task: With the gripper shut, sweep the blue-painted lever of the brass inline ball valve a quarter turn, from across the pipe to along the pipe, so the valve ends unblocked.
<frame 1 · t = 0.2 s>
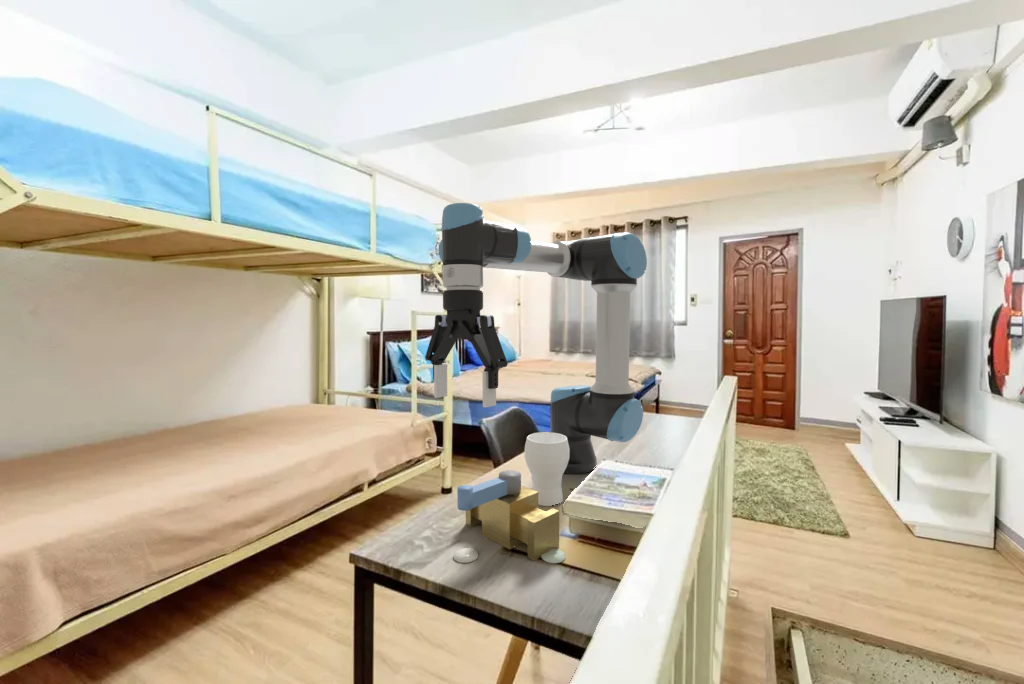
hand: (463, 401, 85), 28 cm above the table, fingers open, 13 cm apart
valve body: (510, 534, 90), on the table
lever: (490, 488, 85), point 11 cm above the table, hinge at 0.0°
cup: (546, 500, 107), on the table
pale green round dome: (553, 556, 82), on the table
white domed disc: (465, 556, 82), on the table
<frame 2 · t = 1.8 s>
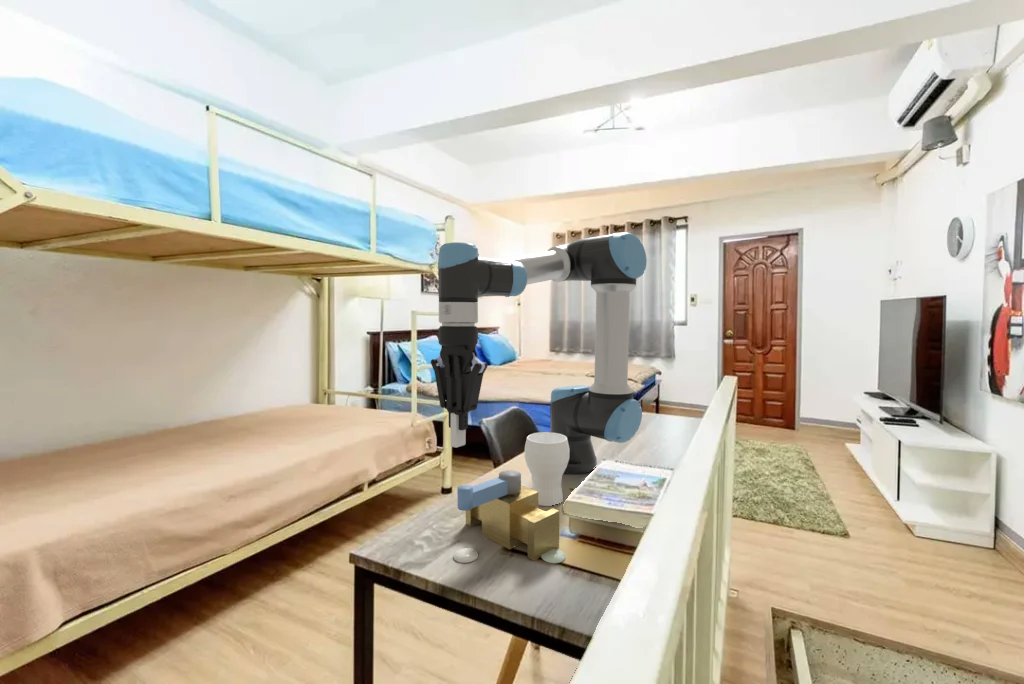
hand: (458, 445, 88), 19 cm above the table, fingers closed
nothing on the table moved.
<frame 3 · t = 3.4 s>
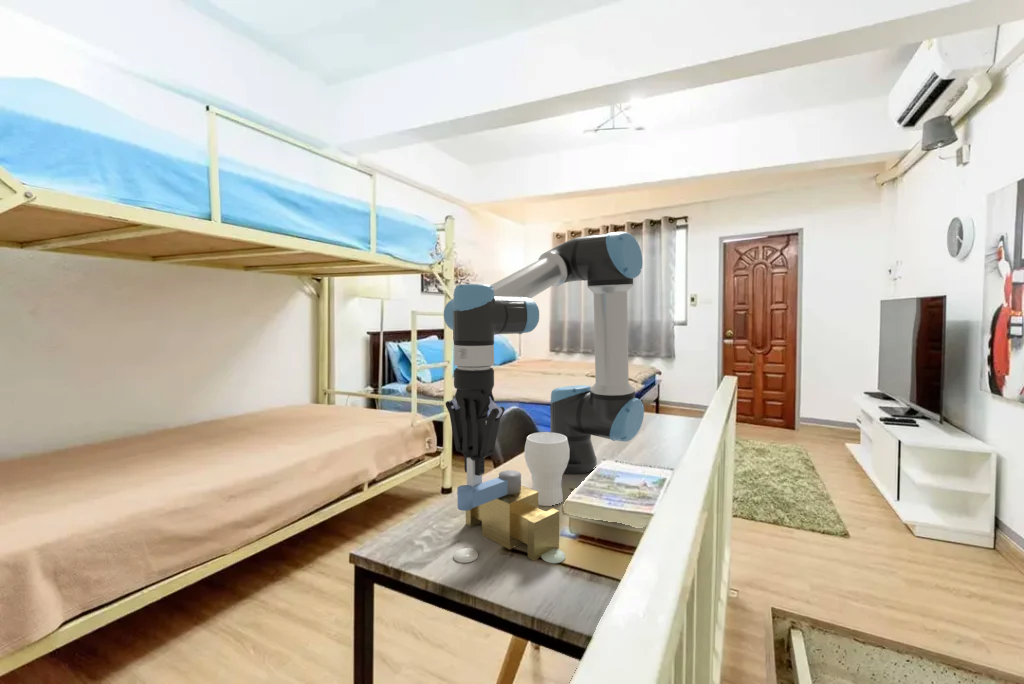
hand: (474, 490, 85), 11 cm above the table, fingers closed
lever: (490, 488, 85), point 11 cm above the table, hinge at 0.0°, touching gripper
everything else where it was.
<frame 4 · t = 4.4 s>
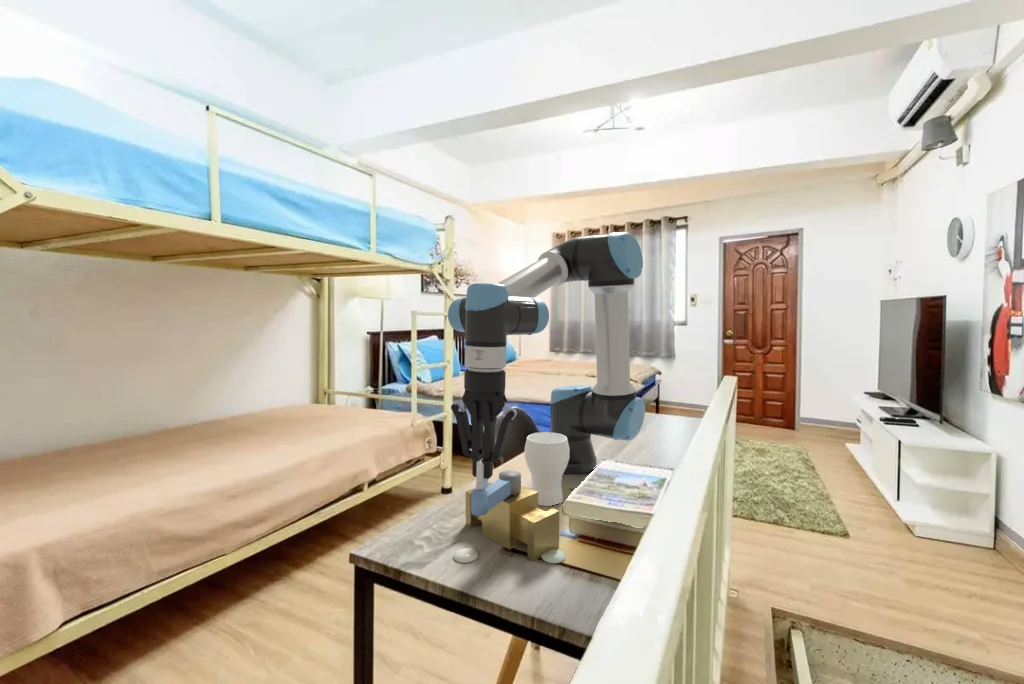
hand: (482, 494, 83), 11 cm above the table, fingers closed
lever: (496, 490, 84), point 11 cm above the table, hinge at 17.0°, touching gripper
everything else where it was.
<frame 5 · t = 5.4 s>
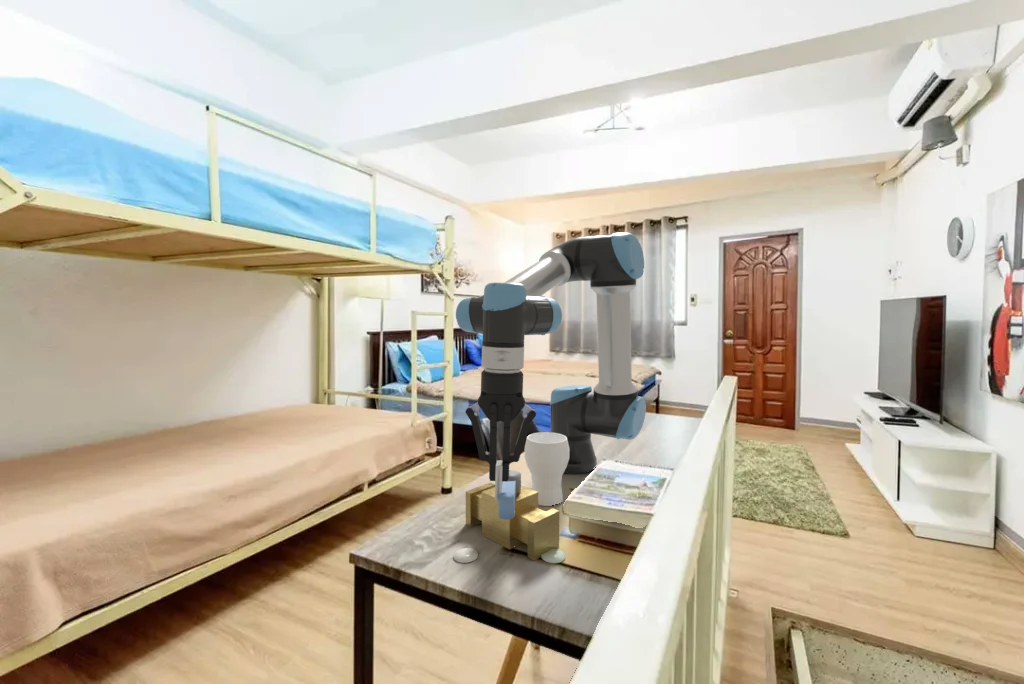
hand: (498, 497, 82), 11 cm above the table, fingers closed
lever: (508, 491, 84), point 11 cm above the table, hinge at 43.1°, touching gripper
everything else where it was.
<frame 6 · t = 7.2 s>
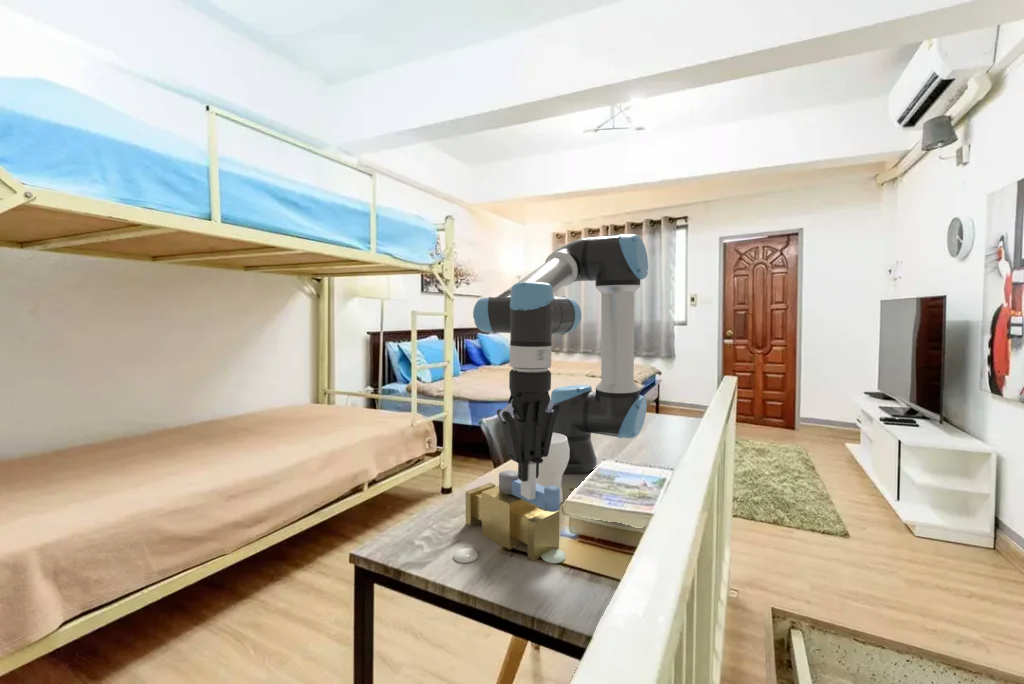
hand: (528, 496, 82), 11 cm above the table, fingers closed
lever: (528, 488, 85), point 11 cm above the table, hinge at 87.7°, touching gripper
everything else where it was.
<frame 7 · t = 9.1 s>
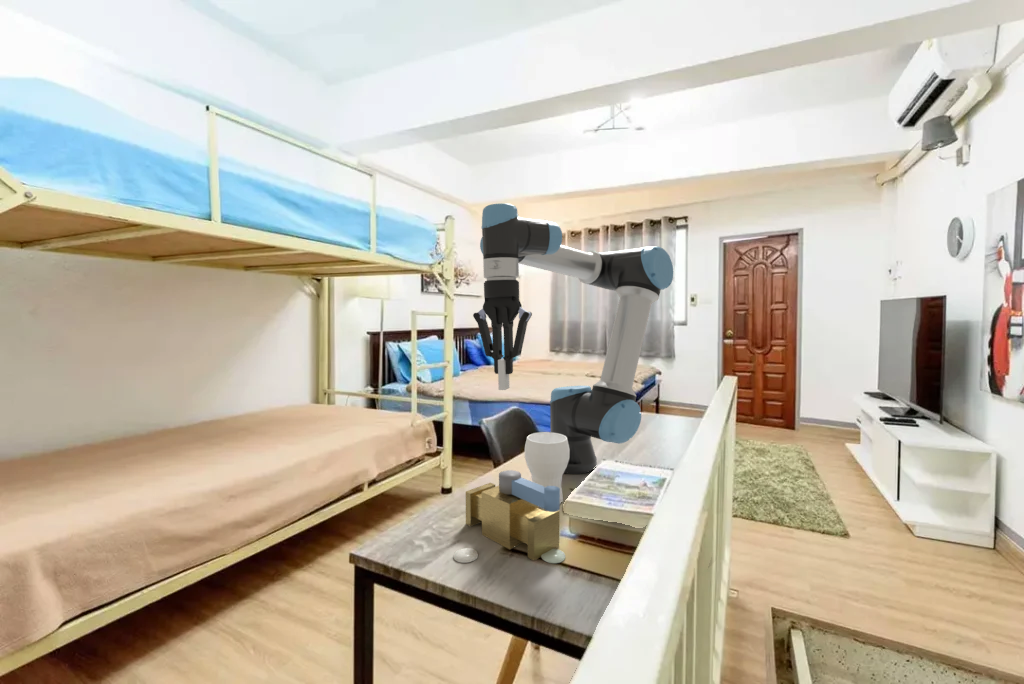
hand: (504, 388, 97), 28 cm above the table, fingers closed
lever: (528, 488, 85), point 11 cm above the table, hinge at 87.8°
everything else where it was.
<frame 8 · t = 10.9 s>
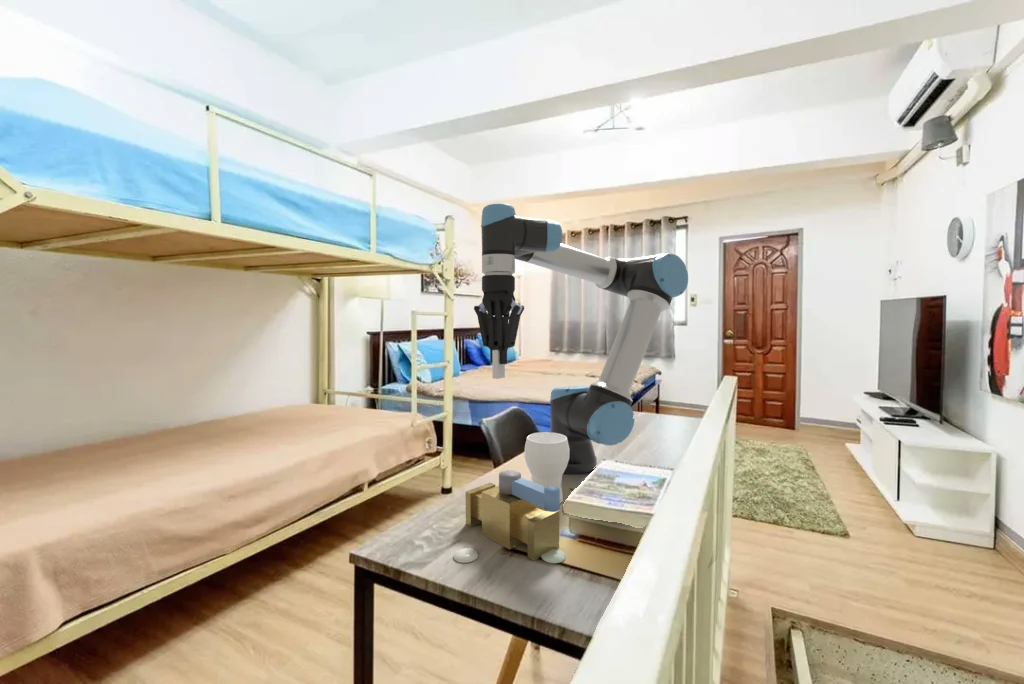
hand: (498, 377, 103), 29 cm above the table, fingers closed
nothing on the table moved.
at the end: lever at +88° (first picture: +0°) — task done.
